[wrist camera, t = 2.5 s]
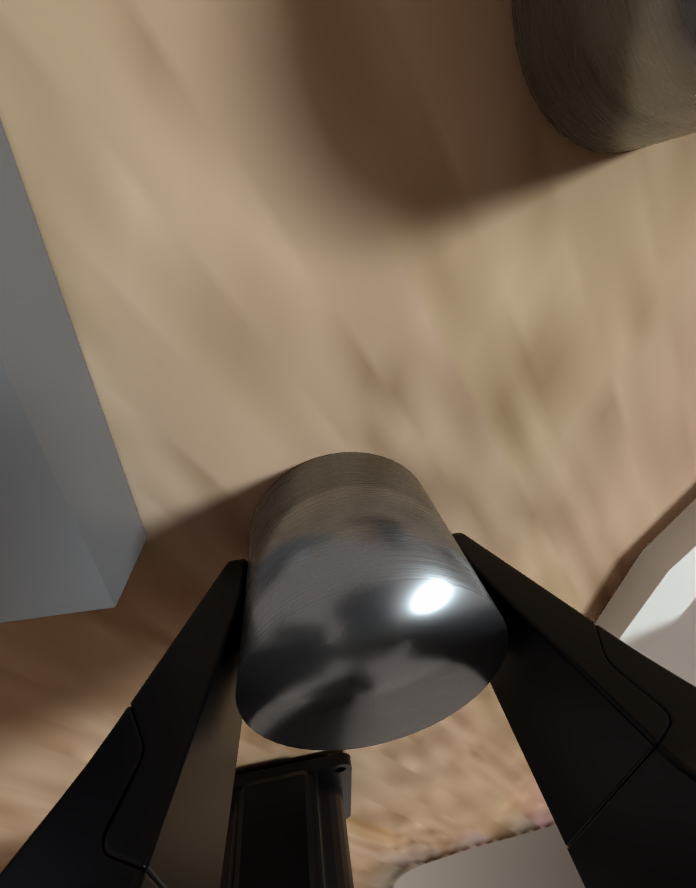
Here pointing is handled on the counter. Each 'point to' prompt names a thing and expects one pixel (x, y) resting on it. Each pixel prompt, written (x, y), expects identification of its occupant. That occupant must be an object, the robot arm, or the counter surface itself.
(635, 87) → the cylinder
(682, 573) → the dish
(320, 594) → the cylinder
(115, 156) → the counter surface
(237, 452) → the counter surface
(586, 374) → the counter surface
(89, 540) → the scale
